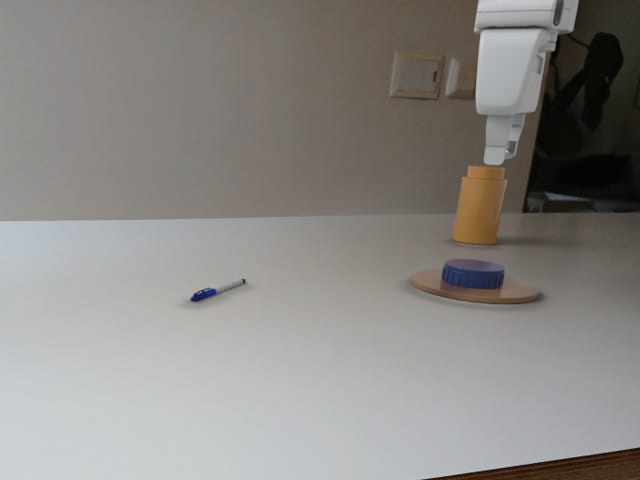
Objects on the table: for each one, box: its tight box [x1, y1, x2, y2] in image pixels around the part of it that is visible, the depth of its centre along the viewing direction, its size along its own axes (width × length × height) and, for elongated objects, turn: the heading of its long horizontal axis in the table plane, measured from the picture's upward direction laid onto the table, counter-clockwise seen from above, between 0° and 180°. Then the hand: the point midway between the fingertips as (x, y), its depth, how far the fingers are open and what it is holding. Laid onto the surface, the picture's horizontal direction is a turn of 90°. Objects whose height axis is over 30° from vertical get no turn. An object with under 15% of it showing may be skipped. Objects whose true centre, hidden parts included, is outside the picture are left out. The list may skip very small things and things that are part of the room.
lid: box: [442, 258, 506, 289], centre depth 81 cm, size 6×6×2 cm
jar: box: [451, 164, 508, 246], centre depth 107 cm, size 6×6×11 cm
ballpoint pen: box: [190, 278, 246, 303], centre depth 76 cm, size 10×1×1 cm, turn 147°
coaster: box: [410, 268, 540, 305], centre depth 81 cm, size 13×13×1 cm
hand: (499, 161), depth 76 cm, fingers open, 8 cm apart
